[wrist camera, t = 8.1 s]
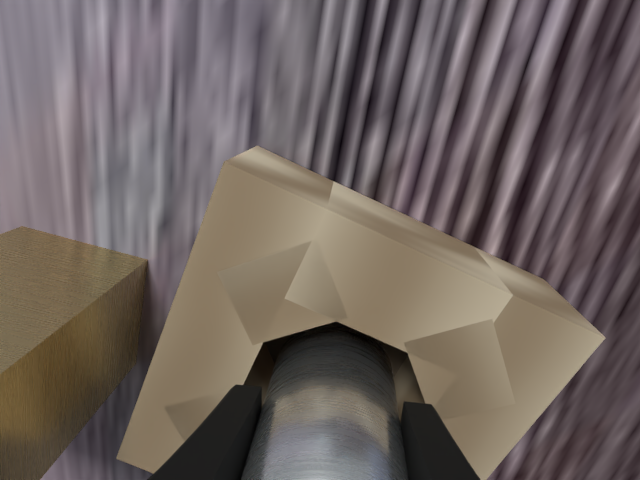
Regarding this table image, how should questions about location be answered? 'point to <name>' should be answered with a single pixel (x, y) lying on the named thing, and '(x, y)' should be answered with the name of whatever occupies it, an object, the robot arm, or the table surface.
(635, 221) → the table surface
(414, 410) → the robot arm
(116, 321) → the square bit
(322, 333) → the round peg
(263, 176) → the socket block
